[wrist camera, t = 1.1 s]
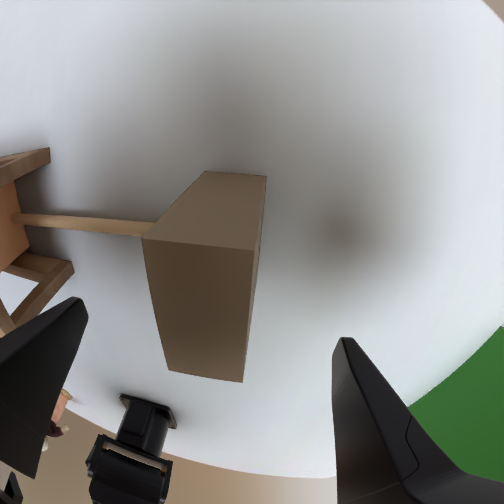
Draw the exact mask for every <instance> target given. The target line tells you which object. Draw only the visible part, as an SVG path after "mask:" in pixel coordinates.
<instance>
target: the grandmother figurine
mask: <svg viewBox="0 0 504 504" xmlns="http://www.w3.org/2000/svg"><path fill="white" fill-rule="evenodd" d="M70 399H72V397H71V396H70V394H69V393H68V392H67V391H65V390H63V389H62V390H61V394H60V395H59V398H58V401H57V403H56V406H55V409H54V412H53V415H52V418H51V421H50V424H49V427H48V430H47V434H46V435H48V436H51V437H59V436H61V435H63V434H64V433H65V432H66V431H67V430H69V426H68V425H67V424H64V426H62V427H57V426H56V424H57V423H58V421H59V419H60V417H61V415H62V413H63V411H64V409H65V406H66V404H67V401H68V400H70ZM46 449H48V439H47V437H45V441H44V444H43V448H42V451H45V450H46Z"/></svg>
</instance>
